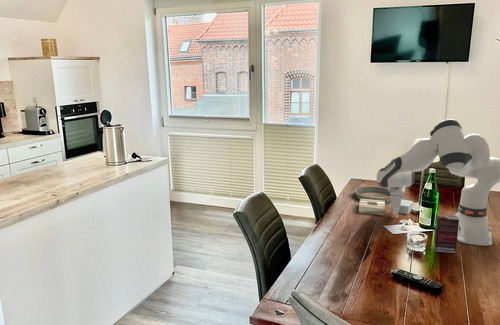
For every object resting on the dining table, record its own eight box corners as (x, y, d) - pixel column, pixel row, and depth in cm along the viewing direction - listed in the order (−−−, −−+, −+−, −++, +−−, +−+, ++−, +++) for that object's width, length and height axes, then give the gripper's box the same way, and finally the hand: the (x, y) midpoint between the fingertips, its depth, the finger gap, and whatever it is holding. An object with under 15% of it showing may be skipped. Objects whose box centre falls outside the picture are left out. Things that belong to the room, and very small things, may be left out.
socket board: (384, 215, 219) (385, 208, 218) (358, 212, 223) (359, 206, 222) (384, 207, 232) (384, 200, 231) (359, 205, 236) (360, 198, 235)
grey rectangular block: (407, 215, 220) (408, 206, 219) (395, 212, 223) (396, 204, 222) (412, 209, 228) (413, 201, 227) (401, 207, 232) (401, 199, 231)
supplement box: (453, 248, 177) (457, 215, 174) (455, 253, 173) (459, 219, 169) (432, 246, 179) (436, 214, 176) (434, 251, 175) (438, 218, 171)
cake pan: (358, 190, 265) (358, 184, 264) (396, 195, 255) (397, 188, 254) (350, 201, 244) (350, 194, 243) (392, 206, 233) (392, 199, 232)
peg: (398, 218, 214) (399, 203, 212) (390, 217, 215) (391, 202, 213) (397, 216, 218) (398, 200, 216) (390, 215, 219) (391, 200, 217)
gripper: (389, 182, 223) (388, 205, 226) (390, 192, 204) (388, 217, 207) (401, 182, 221) (399, 206, 224) (403, 193, 202) (401, 218, 205)
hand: (394, 211), depth 216 cm, fingers open, 6 cm apart
